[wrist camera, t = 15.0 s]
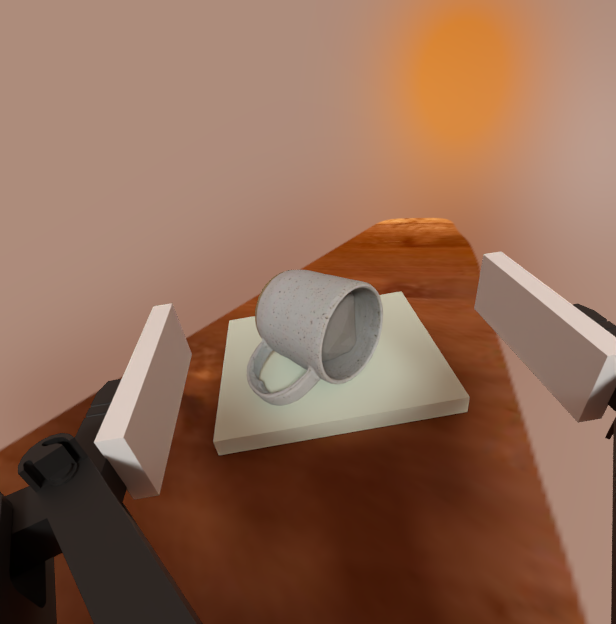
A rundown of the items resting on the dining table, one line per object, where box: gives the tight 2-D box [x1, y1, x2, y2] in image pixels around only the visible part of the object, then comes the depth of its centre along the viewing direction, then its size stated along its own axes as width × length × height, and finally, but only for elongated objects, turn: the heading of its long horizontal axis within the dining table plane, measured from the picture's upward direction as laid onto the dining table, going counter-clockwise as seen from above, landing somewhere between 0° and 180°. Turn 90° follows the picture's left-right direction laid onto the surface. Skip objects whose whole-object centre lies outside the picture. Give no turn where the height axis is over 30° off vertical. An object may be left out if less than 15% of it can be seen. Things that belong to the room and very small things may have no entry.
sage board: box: [213, 292, 470, 455], centre depth 32 cm, size 18×15×2 cm
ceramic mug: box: [247, 270, 383, 406], centre depth 28 cm, size 11×8×8 cm
